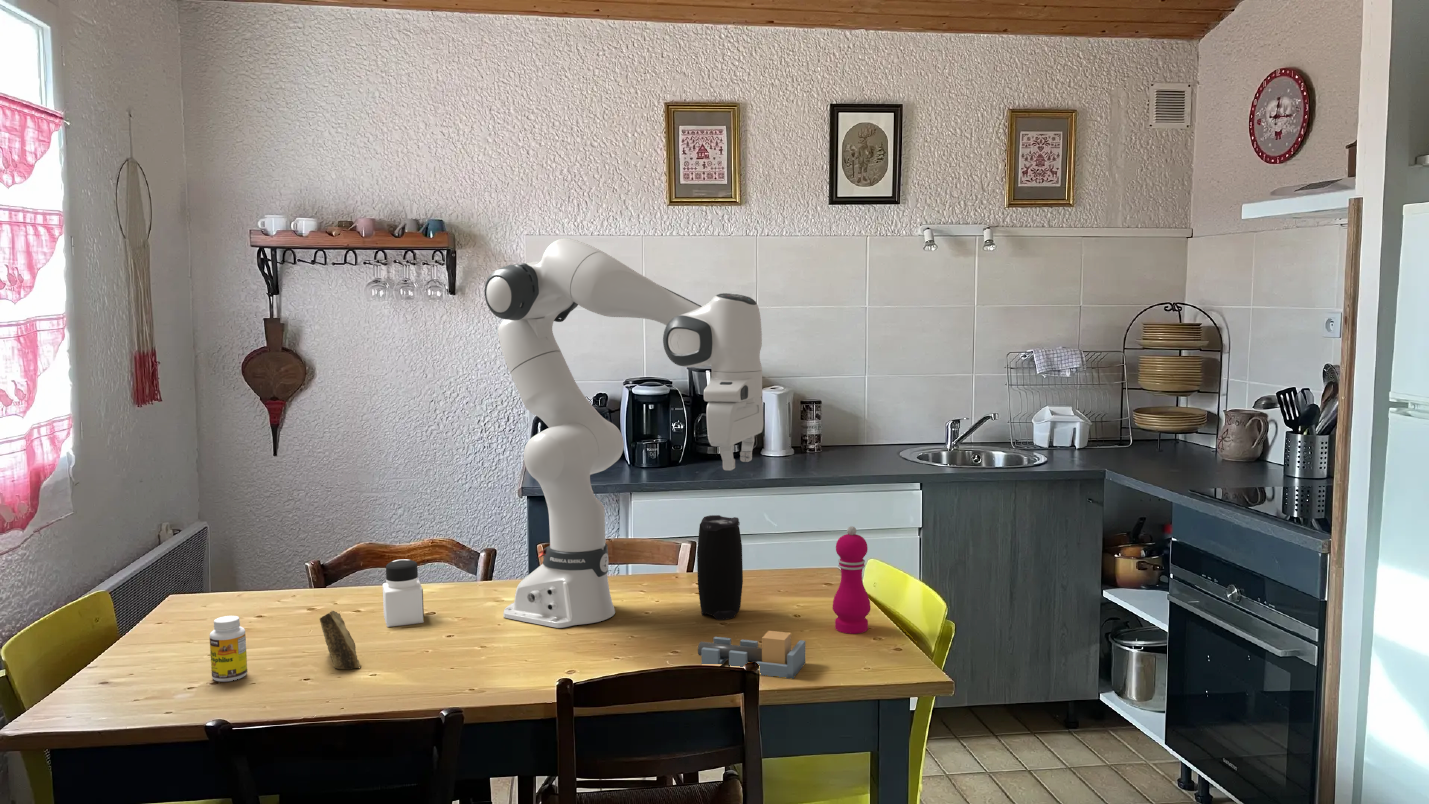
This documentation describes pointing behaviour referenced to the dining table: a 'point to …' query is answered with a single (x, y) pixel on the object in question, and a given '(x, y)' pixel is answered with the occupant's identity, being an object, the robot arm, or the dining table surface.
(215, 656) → the supplement bottle
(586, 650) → the dining table surface
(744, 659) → the clip
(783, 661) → the grey and tan hammer
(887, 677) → the dining table surface
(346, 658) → the rock
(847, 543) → the pepper mill
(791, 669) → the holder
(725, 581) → the portable speaker
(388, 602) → the medicine bottle
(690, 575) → the dining table surface
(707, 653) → the clip
